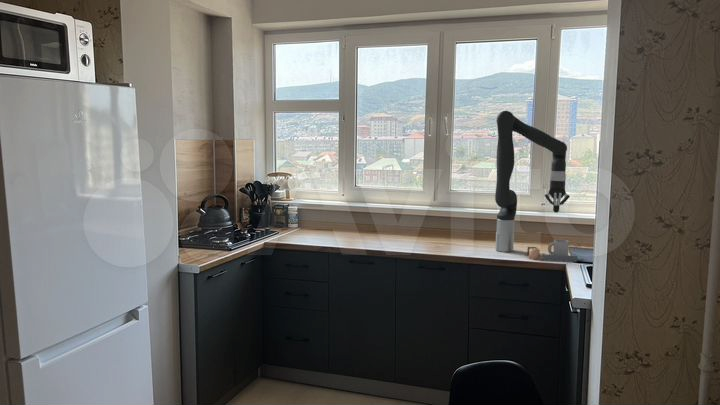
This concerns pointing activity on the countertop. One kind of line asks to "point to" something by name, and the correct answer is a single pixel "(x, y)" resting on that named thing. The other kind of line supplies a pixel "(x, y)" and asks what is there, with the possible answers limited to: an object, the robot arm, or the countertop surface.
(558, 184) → the robot arm
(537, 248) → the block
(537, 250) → the tan rounded lump
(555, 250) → the cup
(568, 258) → the stand
